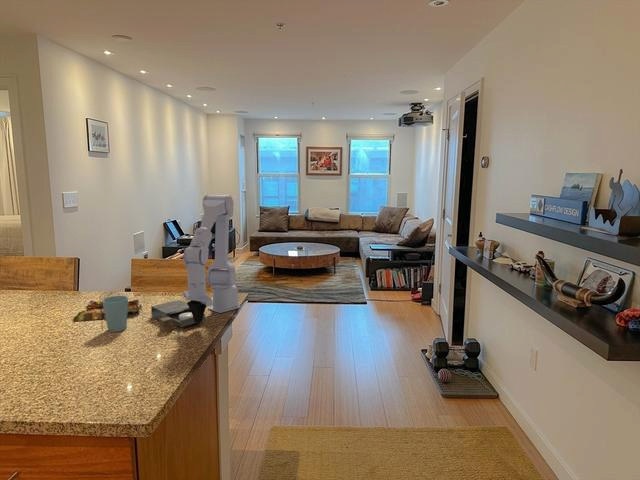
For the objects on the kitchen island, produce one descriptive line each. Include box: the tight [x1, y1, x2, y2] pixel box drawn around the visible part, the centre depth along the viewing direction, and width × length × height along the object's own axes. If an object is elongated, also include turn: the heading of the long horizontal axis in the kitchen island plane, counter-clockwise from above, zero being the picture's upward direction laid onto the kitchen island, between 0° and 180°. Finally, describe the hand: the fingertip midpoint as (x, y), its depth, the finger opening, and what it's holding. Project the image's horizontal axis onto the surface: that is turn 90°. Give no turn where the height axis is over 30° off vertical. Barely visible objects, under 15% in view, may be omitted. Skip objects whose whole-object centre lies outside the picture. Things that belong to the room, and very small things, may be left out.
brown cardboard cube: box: [158, 317, 174, 333], centre depth 134 cm, size 3×3×4 cm
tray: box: [169, 311, 206, 328], centre depth 141 cm, size 9×10×2 cm
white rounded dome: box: [179, 312, 193, 321], centre depth 140 cm, size 6×6×2 cm
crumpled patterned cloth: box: [73, 299, 143, 322], centre depth 151 cm, size 22×19×4 cm
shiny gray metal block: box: [150, 299, 191, 322], centre depth 146 cm, size 11×11×4 cm
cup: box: [101, 295, 129, 333], centre depth 134 cm, size 8×8×10 cm
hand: (198, 321), depth 136 cm, fingers closed
